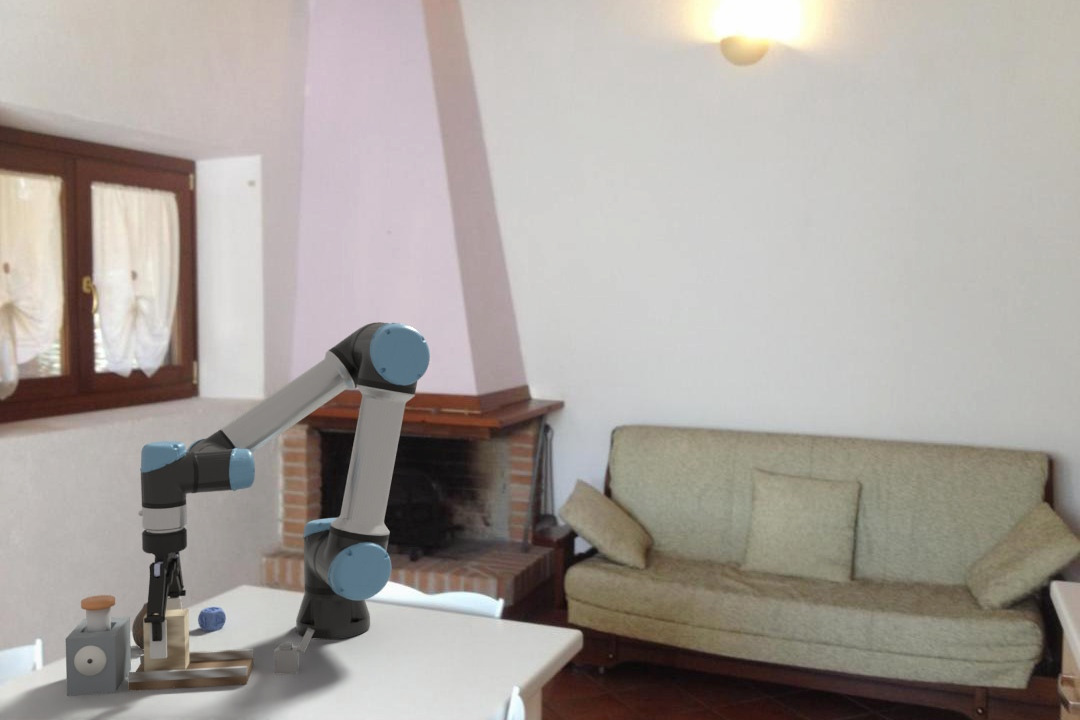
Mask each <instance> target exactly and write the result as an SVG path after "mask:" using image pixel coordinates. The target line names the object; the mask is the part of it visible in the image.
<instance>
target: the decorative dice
mask: <svg viewBox="0 0 1080 720" xmlns="http://www.w3.org/2000/svg"><path fill="white" fill-rule="evenodd" d="M197 618H198V619H197V622H198V625H199V628H200V629H201V630H202V631H203V632H215V631H219V630H221V629H222V628H223V627H224V625H225V623H226V620H227V618H226V612H225V611H224V610H223V608H222V607H219V606H209V607H205V608H202V610H200V612H199V614H198V617H197Z"/></svg>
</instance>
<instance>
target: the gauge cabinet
mask: <svg viewBox="0 0 1080 720" xmlns="http://www.w3.org/2000/svg"><path fill="white" fill-rule="evenodd" d="M131 652H132V651H131V617H130V616H119V617H118V616H117V617H116V616H115V617H112V616H111V631H103V632H87V627H86V618H83V619H82V620H81V621H80V622H79V624H77V626H76V627H75V628H74V629H73V630H72V631H71V632H70V633H69V635H68V636H67V637H65V667H66V696H83V694H84V695H96V694H97V695H98V694H99V695H101V693H102V694H116V693H117V692H118V691H119V689H120V687H121V686H122V684H123V683H124V681H125V680H126V678H127V676H128V674H129V672H132V657H131V656H132V653H131ZM81 694H82V695H81Z"/></svg>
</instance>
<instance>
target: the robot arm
mask: <svg viewBox="0 0 1080 720" xmlns="http://www.w3.org/2000/svg"><path fill="white" fill-rule="evenodd" d="M430 355H431V353H430V348H429V345H428V342H427V340H426V339H425V337H424V336H423V335H422V334H421V332H419V331H418V330H417V329H416V328H414V327H412V326H410V325H407V324H404V323H400V322H371V323H368V324H365V325H362V327H359V328H358V329H357V330H355V331H354V332H352V333H351V334H349V335H348V336H347V337H345V338H344V339H342V340H341V341H339V342H338V343H337V344H336V345H334V346H333V347H331V348H330V349H328V350H326V352H325V356H324V359H323V360H321V361H319V362H318V363H317V364H315V365H314V366H312V367H310V368H309V369H307V370H306V371H304V372H303V373H302V374H301V375H298V376H297V377H296V378H295V379H292V380H291V381H289V382H288V383H286V384H285V385H284V386H282V387H281V388H279V389H278V390H276V391H275V392H273V393H272V394H271V395H269V396H268V397H266V398H265V399H263V400H262V401H260V402H259V403H257V404H255V405H254V406H253V407H251V408H249V409H248V410H247V411H245V412H244V413H242V414H241V415H239V416H238V417H236V418H235V419H233V420H232V421H230V422H229V423H227V424H225V426H223V427H221V428H220V429H218V430H217V431H216V432H214V433H212V434H211V435H210V436H208V437H206V438H200V439H197V440H195V441H193V442H192V443H191V444H190V445H189V446H188V448H187V449H186V445H185V443H184V442H182V441H176V440H170V441H167V440H165V441H164V440H163V441H153V442H148V443H146V444H144V446H143V447H142V449H141V451H140V452H141V453H140V456H141V457H140V469H139V470H140V494H141V510H139V511H138V516H140V517H142V518H141V526H142V529H144V530H143V532H142V533H141V541H142V543H141V546H142V547H141V548H142V551H143V552H144V553H146V554H152V555H153V556H154V561H153V562H151V563H150V565H149V583H148V584H149V585H148V595H147V602H148V605H147V617H146V618H144V623H149V630H150V659H158V658H167V620H165V613H166V610H177V609H183V608H182V605H183V604H182V597H186V594H187V590H186V589H185V588H184V587H185V585H184V581H183V573H182V572H183V571H182V564H181V558H180V557H181V555H180V552H182V551H184V550H185V549H186V548H187V546H188V541H187V540H188V535H187V534H188V533H187V532H188V531H187V528H186V527H185V526H187V524H188V518H187V517H188V515H187V514H188V512H187V511H188V510H187V509H188V507H187V495H188V494H197V493H211V492H212V493H213V492H226V491H233V492H236V491H237V490H244V489H249V488H251V487H252V486H253V484H254V482H255V478H256V468H255V467H256V465H255V458H254V457H255V456H254V455H253V454H254V453H255V452H256V451H258V450H260V449H261V448H262V447H264V446H265V445H266V444H268V443H270V442H271V441H272V440H274V439H275V438H277V437H278V436H280V435H282V434H283V433H284V432H285V431H287V430H288V429H290V428H292V427H293V426H294V425H296V424H297V423H299V422H300V421H301V420H303V419H305V418H306V417H307V416H309V415H310V414H311V413H313V412H315V411H316V410H317V409H319V408H321V407H323V405H325V404H327V403H328V402H329V401H331V400H333V399H335V397H337V396H338V395H340V394H341V393H343V392H344V391H345V390H350V391H354V390H355V389H358V391H359V392H360V393H361V395H362V396H361V402H360V405H359V406H360V408H359V413H358V418H357V423H356V430H355V435H354V440H353V446H352V449H351V450H352V451H351V456H350V462H349V468H348V472H347V478H346V483H345V488H344V493H343V500H342V503H341V504H342V505H341V510H340V515H339V516H337V517H328V518H320V519H319V518H318V519H314V520H311V521H308V522H306V523H305V525H304V527H303V528H304V530H303V536H302V540H303V563H304V564H303V567H304V571H303V572H304V574H303V575H304V579H303V580H304V581H303V582H304V594H303V598H302V600H301V603H300V606H299V609H298V613H297V616H296V623H295V625H296V626H295V627H296V628H295V630H296V632H297V634H298V635H301V636H302V637H304V635H305V633H306V631H307V629H308V628H311V629H313V630H315V631H314V633H313V635H312V637H311V639H315V640H337V639H345V638H351V637H354V636H358V635H360V634H363V633H364V632H365V633H366V631H368V630H369V629H370V626H371V616H370V615H371V614H370V611H369V609H368V605H367V603H366V600H367V599H371V598H373V597H375V596H376V595H377V594H378V593H380V592H382V590H383V589H384V588H385V587H386V586H387V585H388V582H389V580H390V578H391V575H392V574H391V573H392V561H391V557H390V555H389V553H388V552H387V550H388V545H389V540H390V539H389V538H390V533H391V532H390V530H389V529H388V527H387V526H386V524H385V518H386V517H385V516H386V512H387V506H388V502H389V501H388V500H389V497H390V496H389V495H390V490H391V484H392V481H393V480H392V478H393V474H394V467H395V462H396V458H397V457H396V456H397V452H398V445H399V441H400V435H401V431H402V424H403V418H404V414H405V409H406V403H407V402H409V401H410V400H411V399H413V398H414V397H415V396H416V390H417V385H418V381H419V380H420V379H421V378H423V376H425V373H426V372H427V369H428V367H429V365H430V357H431V356H430ZM155 613H158V614H159V615H154V614H155Z"/></svg>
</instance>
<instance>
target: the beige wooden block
mask: <svg viewBox="0 0 1080 720" xmlns="http://www.w3.org/2000/svg"><path fill="white" fill-rule="evenodd" d="M189 611H190V610H189V609H188V608H184V609H183V608H182V609H177V610H166V613H165V620H167V658H158V659H150V630H149V623H144V618H146V617H147V613H146V615H145V616H144V617H143V630H144V650H143V654H144V671H162V670H180V669H186V668H187V666H188V664H189V652H190V634H189V633H190V621H189V620H190V619H189V618H190V617H189V616H190V615H189V614H190V613H189ZM154 615H159V614H158V613H155V614H154Z"/></svg>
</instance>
